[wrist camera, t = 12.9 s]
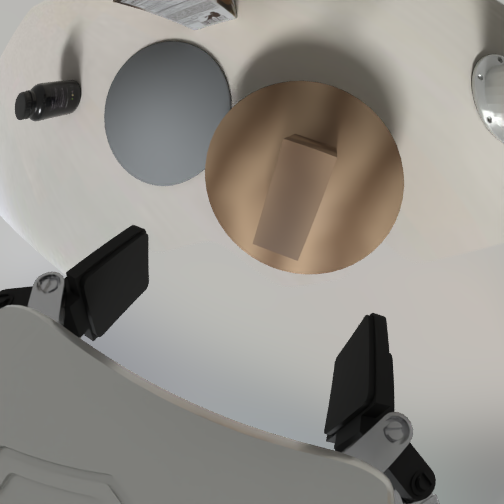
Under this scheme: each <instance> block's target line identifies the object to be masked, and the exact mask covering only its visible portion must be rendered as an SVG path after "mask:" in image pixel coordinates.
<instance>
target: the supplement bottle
mask: <svg viewBox="0 0 504 504" xmlns="http://www.w3.org/2000/svg"><path fill="white" fill-rule="evenodd" d="M80 96H81V91H80V87H79V85H78V83H77V82H76V81H74V80H66V81H56V82H48V83H41V84H37V85H35V86H34V87H33V88H32V89H31V90H28V91H26V92H21V93H20V94H19V95H18V97H17V99H16V102H15V114H16V117H17V119H18V120H22V119H28V118H30V119H31V120H33V121H40V120H44V119H48V118H53V117H57V116H62V115H66V114H70V113H72V112H73V111H74V110H75V109H76V108H77V106H78V104H79V101H80Z"/></svg>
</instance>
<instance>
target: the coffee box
mask: <svg viewBox="0 0 504 504" xmlns="http://www.w3.org/2000/svg"><path fill="white" fill-rule="evenodd" d="M113 2H117V3H120V4H124V5H128V6H131V7H134V8H138V9H141V10H144V11H147V12H150V13H153V14H156V15H158V16H161V17H164V18H167V19H169V20H172V21H174V22H177V23H179V24H181V25H184V26H186V27H189V28H191V29H193V30H197V29H201V28H204V27H207V26H210V25H213V24H217V23H220V22H224V21H228V20H232V19H235V18H237V13H236V9H235V4H234V0H113Z"/></svg>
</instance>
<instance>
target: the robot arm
mask: <svg viewBox="0 0 504 504" xmlns="http://www.w3.org/2000/svg"><path fill="white" fill-rule="evenodd" d="M472 91H473V97H474V101H475V105H476V107H477V110H478V113H479V115H480V117H481V119H482V121H483V123H484V124H485V126H486V127H487V129H488V130H489V131H490V132H491V134H492V135H493V136H494V137H496V138H497V139H498V140H499V141H501V142H503V143H504V56H502V55H498V54H490V55H487V56H484V57H483V58H481V59H480V60H479V61H478V62H477V64H476V66H475V68H474V71H473V75H472ZM487 119H488V120H487ZM66 274H67V277H66V278H65V279H64V278H63V276H62V275H61V274H60V273H57V272H48V273H45V274H42V275H41V276H39V277H38V278H37V279H36V280H35V282H34V284H33V286H32V287H23V288H13V289H5V290H2V291H0V504H439V501H438V498H437V495H436V494H435V495H433V494H432V492H433V490H434V487H435V481H436V479H435V475H434V473H433V471H432V470H431V468H430V467H429V466H428V465H427V463H426V462H425V461H424V460H423V458H422V457H421V456H420V455H419V453H418V452H417V451H416V450H415V448H414V447H413V446H412V444H411V443H410V441H411V439H412V436H413V428H412V425H411V422H410V421H409V419H408V418H407V417H406V416H404V415H403V414H401V413H399V412H394V377H393V360H392V355H391V354H390V353H389V343H388V332H387V323H386V318H385V317H384V316H381V315H378V314H375V313H372V314H370V316H369V315H366V316H365V317H364V319H363V320H362V322H361V323H360V325H359V326H358V328H357V329H356V331H355V332H354V333H353V335H352V337H351V338H350V339H349V341H348V342H347V344H346V345H345V346H344V348H343V349H342V351H341V352H340V353H339V355H338V356H337V358H336V361H335V366H334V373H333V381H332V388H331V394H330V401H329V407H328V413H327V418H326V424H325V429H324V433H325V434H327V439H326V441H327V442H332V443H335V445H334V449H335V451H334V450H330V449H326V448H322V447H318V446H314V445H311V444H307V443H303V442H299V441H296V440H292V439H288V438H285V437H282V436H279V435H276V434H272V433H269V432H266V431H263V430H259V429H257V428H254V427H251V426H248V425H245V424H242V423H239V422H237V421H234V420H232V419H229V418H226V417H224V416H222V415H219V414H217V413H214V412H212V411H209V410H207V409H205V408H202V407H200V406H198V405H196V404H193V403H191V402H189V401H187V400H185V399H183V398H181V397H178V396H176V395H174V394H172V393H170V392H168V391H166V390H164V389H162V388H160V387H159V386H157V385H155V384H153V383H151V382H149V381H147V380H146V379H144V378H142V377H140V376H138V375H137V374H135V373H133V372H131V371H130V370H128V369H126V368H125V367H123V366H121V365H120V364H118V363H116V362H115V361H113V360H112V359H110V358H108V357H107V356H105V355H104V354H102V353H101V352H99V351H98V350H96V349H95V348H93V347H92V346H90V345H89V344H87V343H86V342H84V341H83V340H82V339H81V336H82V335H83V334H85V336H87V337H88V338H90V339H91V340H92V341H94V340H95V339H96V338H97V337H101V336H102V335H103V334H104V333H105V332H106V331H107V330H108V329H109V328H110V327H111V326H112V325H113V323H114V322H115V321H116V320H117V319H118V318H119V317H120V316H121V315H122V314H123V313H124V312H125V311H126V310H127V308H128V307H129V306H130V305H131V304H132V303H133V302H134V301H135V300H136V299H137V298H138V297H139V296H140V295H141V294H142V293H143V292H144V291H145V290H146V289H147V287H148V284H149V275H148V234H146V231H145V229H143V228H140V227H138V226H135V225H132V226H130V227H129V228H127V229H126V230H124V231H123V232H121V233H120V234H118V235H117V236H116V237H114V238H113V239H111V240H110V241H108V242H107V243H105V244H104V245H103V246H101V247H100V248H98V249H97V250H96V251H94V252H93V253H92V254H90V255H89V256H87V257H86V258H85V259H83V260H82V261H81V262H79V263H78V264H77V265H75V266H74V267H73V268H72V269H70V270H69V271H68V272H66Z"/></svg>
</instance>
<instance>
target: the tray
mask: <svg viewBox="0 0 504 504" xmlns="http://www.w3.org/2000/svg"><path fill="white" fill-rule="evenodd" d="M230 110H231V98H230V91H229V87H228V83H227V81H226V78H225V76H224V74H223V72H222V70H221V69H220V67H219V65H218V64H217V63H216V62H215V61H214V59H213V58H212V57H210V56H209V55H208V54H207V53H206V52H204V51H203V50H201V49H199V48H198V47H195V46H193V45H190V44H187V43H183V42H175V41H169V42H161V43H157V44H153V45H151V46H148V47H146V48H144V49H142V50H141V51H139V52H137V53H136V54H135V55H133V56H132V57H131V58H130V59H129V60H128V61H127V62H126V63H125V64H124V65H123V66H122V67H121V69H120V70H119V72H118V73H117V75H116V76H115V78H114V80H113V82H112V84H111V87H110V89H109V92H108V95H107V99H106V105H105V115H104V119H105V130H106V135H107V139H108V142H109V145H110V148H111V150H112V152H113V154H114V156H115V157H116V159H117V160H118V162H119V163H120V164H121V166H122V167H123V168H124V169H125V170H126V171H127V172H128V173H129V174H131V175H132V176H134V177H135V178H137V179H139V180H141V181H143V182H145V183H148V184H152V185H157V186H169V185H175V184H179V183H182V182H184V181H187V180H189V179H191V178H193V177H194V176H196V175H198V174H199V173H200V172H202V171H203V170H204V169H205V164H206V157H207V152H208V148H209V145H210V142H211V139H212V137H213V135H214V132H215V130H216V129H217V127H218V125H219V124H220V122H221V120H222V119H223V118H224V117H225V115H226V114H227V113H228V112H229V111H230Z"/></svg>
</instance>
